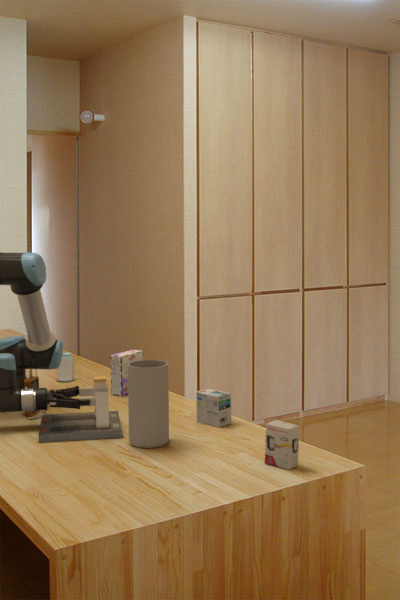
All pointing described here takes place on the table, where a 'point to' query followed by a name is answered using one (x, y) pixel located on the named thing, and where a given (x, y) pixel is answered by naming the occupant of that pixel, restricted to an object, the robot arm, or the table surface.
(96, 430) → the dual slider panel
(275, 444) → the ink box
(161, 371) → the cylinder vase
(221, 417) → the light bulb box
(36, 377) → the multimeter
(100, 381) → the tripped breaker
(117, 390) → the candy box
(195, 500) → the table surface
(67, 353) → the can
